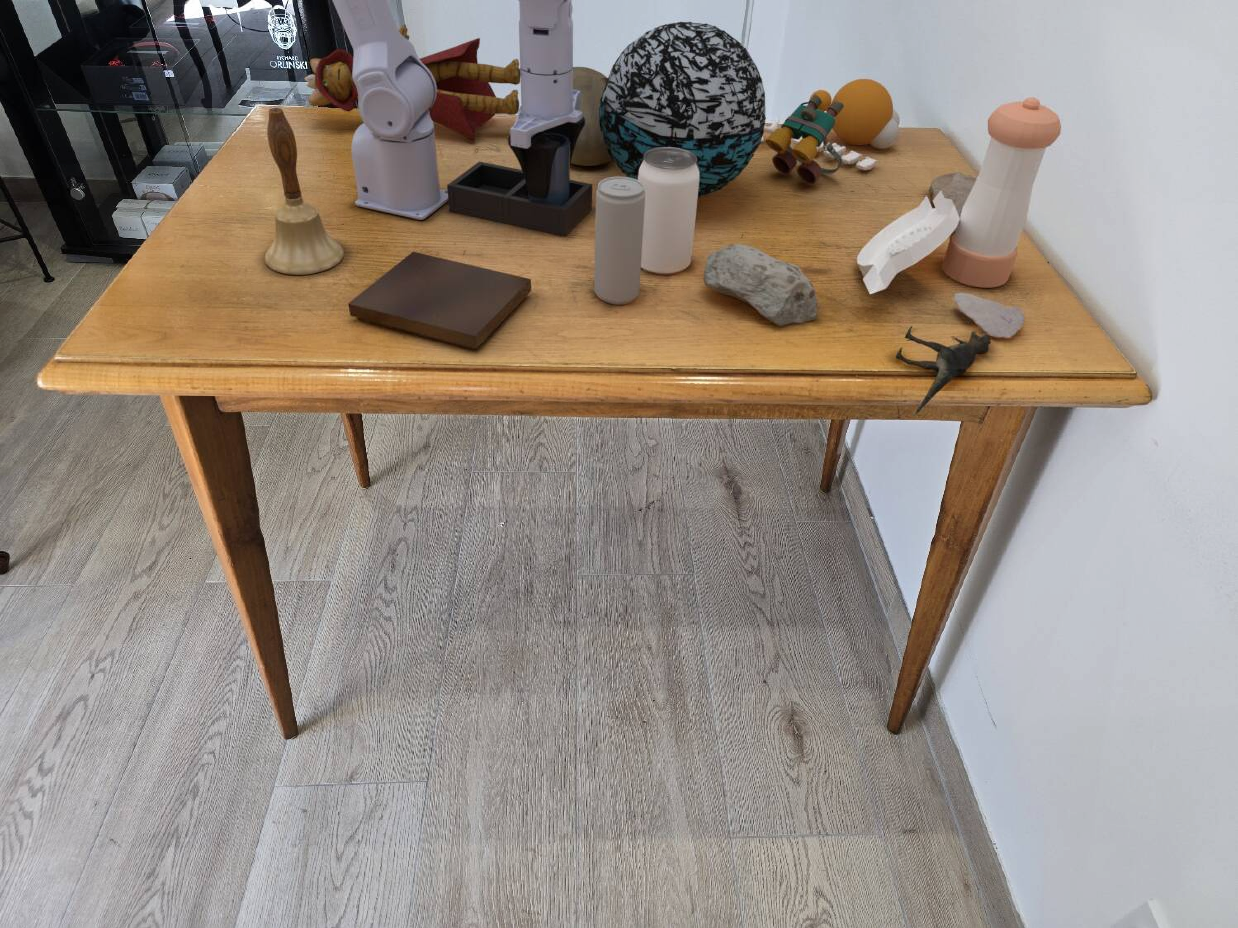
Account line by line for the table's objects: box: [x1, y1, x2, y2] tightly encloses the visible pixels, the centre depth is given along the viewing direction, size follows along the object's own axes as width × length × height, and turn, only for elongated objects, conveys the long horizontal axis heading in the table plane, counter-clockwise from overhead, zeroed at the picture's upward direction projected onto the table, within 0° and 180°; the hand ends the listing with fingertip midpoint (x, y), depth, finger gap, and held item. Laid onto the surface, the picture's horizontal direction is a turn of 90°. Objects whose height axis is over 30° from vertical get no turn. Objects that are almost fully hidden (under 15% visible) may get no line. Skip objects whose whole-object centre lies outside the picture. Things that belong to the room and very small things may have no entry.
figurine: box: [304, 24, 521, 141], centre depth 125 cm, size 16×13×30 cm
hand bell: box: [264, 107, 345, 276], centre depth 92 cm, size 8×8×16 cm
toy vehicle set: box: [791, 136, 878, 171], centre depth 124 cm, size 12×4×2 cm, turn 49°
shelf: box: [347, 251, 532, 351], centre depth 89 cm, size 14×12×2 cm
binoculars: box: [765, 94, 844, 186], centre depth 116 cm, size 9×9×10 cm
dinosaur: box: [895, 326, 992, 417], centre depth 83 cm, size 4×20×7 cm
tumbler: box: [528, 133, 571, 206], centre depth 103 cm, size 5×5×7 cm
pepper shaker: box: [941, 97, 1062, 289], centre depth 94 cm, size 7×7×19 cm
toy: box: [799, 78, 900, 150], centre depth 127 cm, size 9×10×15 cm
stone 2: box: [953, 292, 1026, 339], centre depth 91 cm, size 6×8×2 cm
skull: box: [571, 66, 613, 167], centre depth 120 cm, size 12×18×12 cm, turn 15°
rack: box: [446, 161, 593, 237], centre depth 107 cm, size 15×8×3 cm, turn 69°
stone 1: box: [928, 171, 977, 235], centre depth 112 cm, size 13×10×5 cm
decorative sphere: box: [599, 21, 767, 198], centre depth 107 cm, size 20×20×20 cm
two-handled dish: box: [856, 190, 960, 295], centre depth 98 cm, size 10×25×2 cm
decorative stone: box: [703, 243, 818, 327], centre depth 92 cm, size 12×11×5 cm
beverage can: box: [593, 176, 645, 306], centre depth 89 cm, size 5×5×12 cm
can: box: [638, 147, 699, 276], centre depth 95 cm, size 6×6×12 cm
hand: (548, 187), depth 105 cm, fingers closed on tumbler, 5 cm apart
